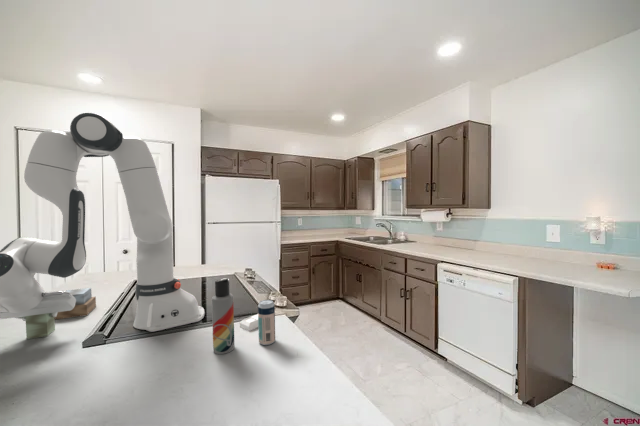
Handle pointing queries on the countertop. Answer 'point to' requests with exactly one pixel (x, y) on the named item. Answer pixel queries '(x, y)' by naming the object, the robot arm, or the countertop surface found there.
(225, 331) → the lotion bottle
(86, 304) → the pedestal
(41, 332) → the green brick
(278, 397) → the countertop surface
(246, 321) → the soap bar
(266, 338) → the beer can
